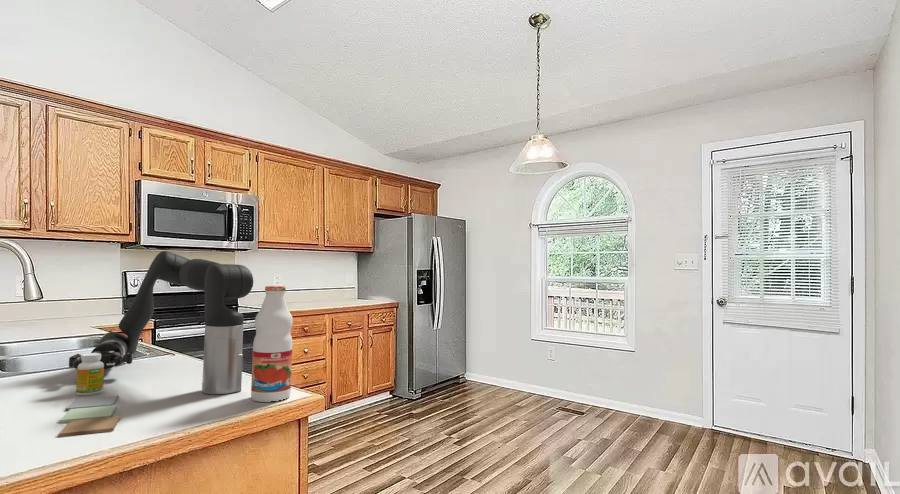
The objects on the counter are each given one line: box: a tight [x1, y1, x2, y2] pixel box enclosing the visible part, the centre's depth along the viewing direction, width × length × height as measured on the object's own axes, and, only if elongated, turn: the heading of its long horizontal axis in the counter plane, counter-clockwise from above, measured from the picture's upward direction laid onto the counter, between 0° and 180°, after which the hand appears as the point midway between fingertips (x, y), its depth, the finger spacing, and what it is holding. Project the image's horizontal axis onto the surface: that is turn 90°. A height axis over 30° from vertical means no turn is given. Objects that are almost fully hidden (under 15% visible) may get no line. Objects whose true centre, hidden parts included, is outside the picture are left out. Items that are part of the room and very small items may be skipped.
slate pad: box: [65, 394, 120, 412], centre depth 112 cm, size 8×8×1 cm
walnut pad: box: [58, 415, 121, 438], centre depth 96 cm, size 8×8×1 cm
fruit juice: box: [250, 285, 294, 403], centre depth 121 cm, size 9×9×28 cm
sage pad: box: [59, 404, 118, 424], centre depth 104 cm, size 8×8×1 cm
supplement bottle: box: [75, 352, 105, 396], centre depth 121 cm, size 5×5×10 cm
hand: (97, 363), depth 128 cm, fingers open, 8 cm apart
